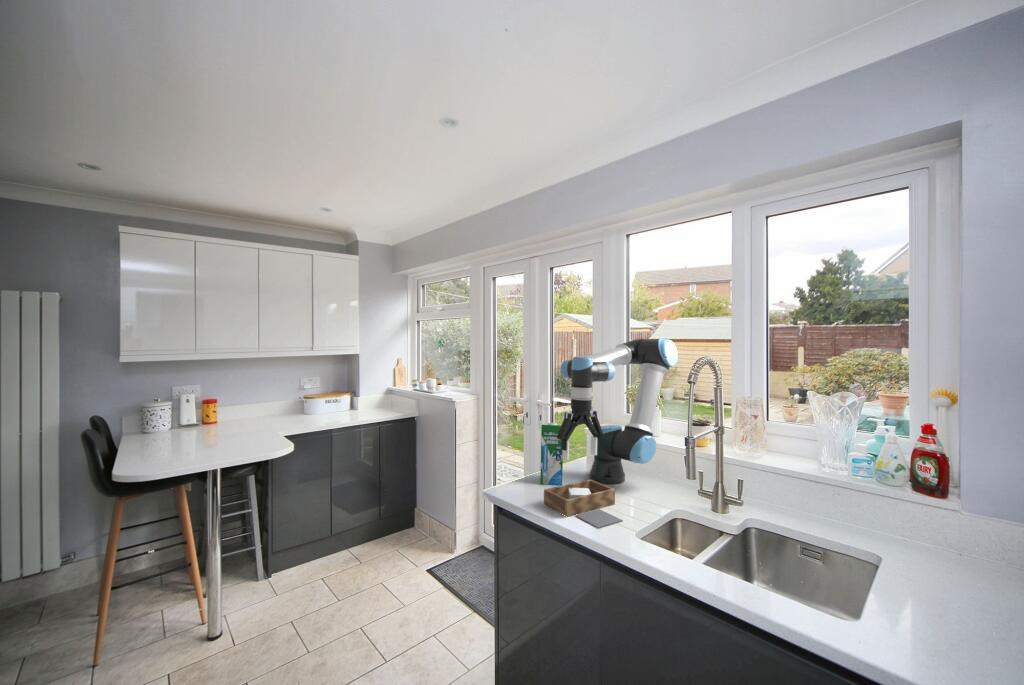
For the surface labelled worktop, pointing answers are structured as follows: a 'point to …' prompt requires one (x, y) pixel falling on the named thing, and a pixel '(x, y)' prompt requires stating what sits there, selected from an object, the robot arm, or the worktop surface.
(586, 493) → the small box
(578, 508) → the walnut frame
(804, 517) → the worktop surface
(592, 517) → the rubber pad
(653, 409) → the robot arm
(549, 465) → the milk carton
